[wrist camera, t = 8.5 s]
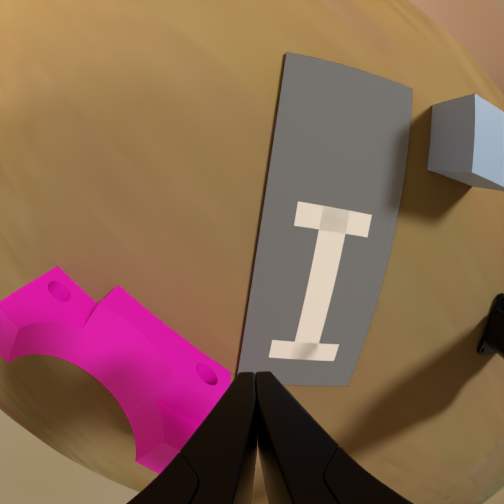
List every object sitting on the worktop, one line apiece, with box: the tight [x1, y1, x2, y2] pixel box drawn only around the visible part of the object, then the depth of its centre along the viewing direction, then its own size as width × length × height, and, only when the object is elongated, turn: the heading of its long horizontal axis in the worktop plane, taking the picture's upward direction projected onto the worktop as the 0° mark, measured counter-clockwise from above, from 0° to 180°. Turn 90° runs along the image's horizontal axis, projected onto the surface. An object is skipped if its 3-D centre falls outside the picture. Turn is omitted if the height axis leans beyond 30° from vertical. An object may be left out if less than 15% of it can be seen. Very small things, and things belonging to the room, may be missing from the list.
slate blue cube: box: [427, 94, 504, 191], centre depth 15 cm, size 5×5×5 cm
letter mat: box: [237, 52, 412, 386], centre depth 18 cm, size 9×23×1 cm, turn 172°
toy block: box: [0, 266, 231, 474], centre depth 17 cm, size 15×6×8 cm, turn 48°
